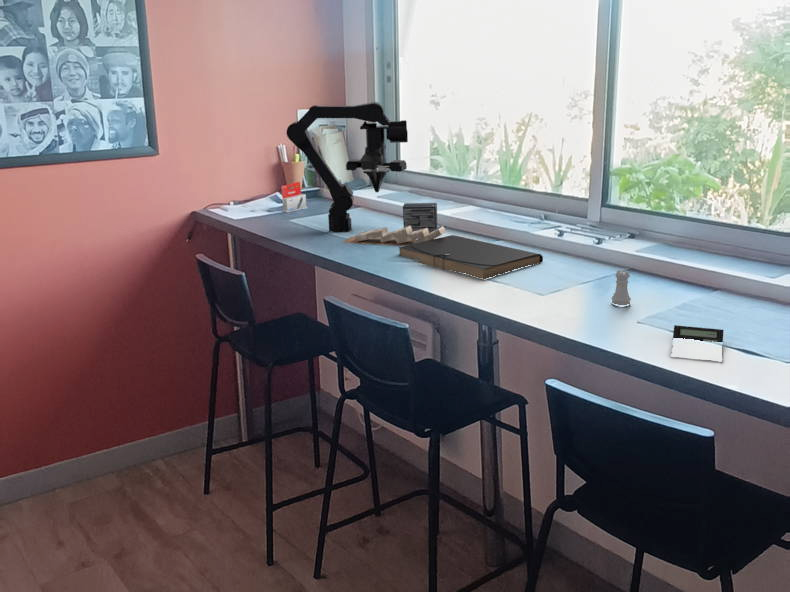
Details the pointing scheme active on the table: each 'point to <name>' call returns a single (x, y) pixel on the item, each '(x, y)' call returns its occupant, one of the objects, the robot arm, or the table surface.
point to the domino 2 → (396, 234)
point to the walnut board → (378, 242)
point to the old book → (469, 256)
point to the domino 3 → (413, 236)
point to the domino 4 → (432, 235)
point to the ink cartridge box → (293, 197)
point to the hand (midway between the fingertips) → (377, 192)
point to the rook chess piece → (621, 289)
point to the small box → (420, 216)
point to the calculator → (698, 333)
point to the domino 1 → (371, 234)
